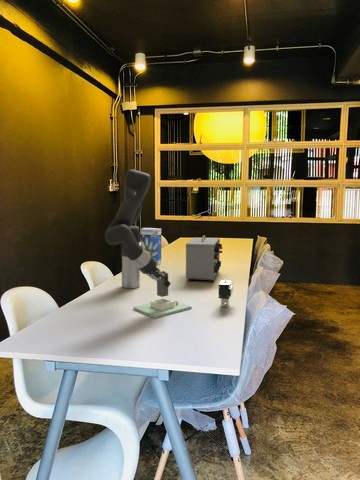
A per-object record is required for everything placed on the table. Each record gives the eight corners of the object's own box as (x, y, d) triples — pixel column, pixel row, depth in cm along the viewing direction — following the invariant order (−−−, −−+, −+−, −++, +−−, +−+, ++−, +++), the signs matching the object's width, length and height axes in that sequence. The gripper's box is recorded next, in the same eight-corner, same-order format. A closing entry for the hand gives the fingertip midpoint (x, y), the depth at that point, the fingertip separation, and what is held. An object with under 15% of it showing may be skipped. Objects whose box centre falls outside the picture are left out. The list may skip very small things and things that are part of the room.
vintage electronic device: (217, 283, 209) (217, 239, 206) (185, 281, 213) (185, 238, 210) (222, 271, 240) (222, 233, 237) (194, 270, 244) (194, 233, 241)
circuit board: (155, 318, 150) (155, 310, 150) (133, 309, 162) (133, 301, 162) (191, 308, 163) (191, 300, 163) (168, 300, 175) (168, 293, 175)
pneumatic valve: (217, 309, 162) (218, 282, 160) (221, 302, 173) (221, 276, 171) (230, 310, 160) (231, 283, 159) (233, 302, 172) (233, 277, 170)
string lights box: (140, 264, 266) (140, 228, 262) (145, 262, 273) (144, 227, 270) (158, 265, 262) (157, 229, 258) (161, 263, 269) (161, 228, 266)
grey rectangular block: (161, 296, 159) (161, 274, 158) (157, 295, 162) (156, 272, 161) (168, 295, 162) (168, 273, 161) (163, 293, 164) (163, 271, 163)
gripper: (158, 255, 150) (181, 280, 159) (138, 251, 160) (161, 275, 169) (147, 270, 147) (171, 294, 156) (128, 265, 157) (151, 288, 167)
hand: (166, 284), depth 163 cm, fingers closed on grey rectangular block, 3 cm apart
